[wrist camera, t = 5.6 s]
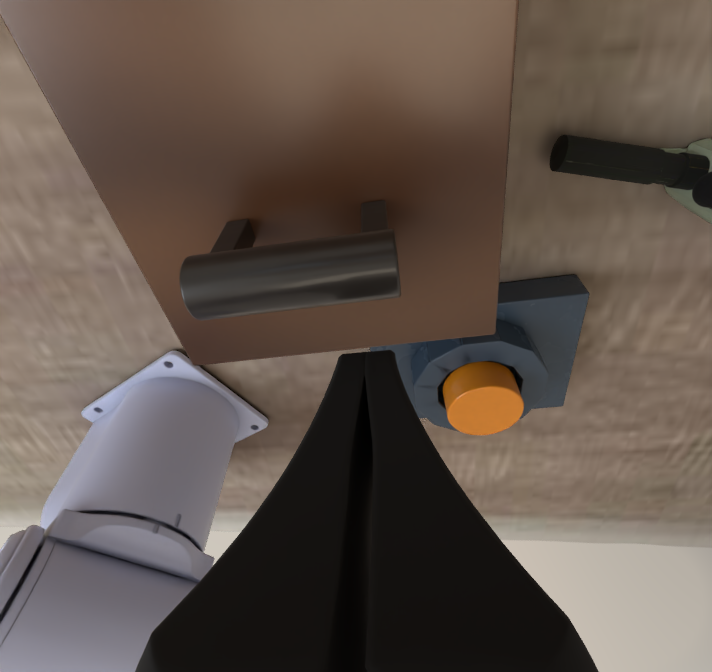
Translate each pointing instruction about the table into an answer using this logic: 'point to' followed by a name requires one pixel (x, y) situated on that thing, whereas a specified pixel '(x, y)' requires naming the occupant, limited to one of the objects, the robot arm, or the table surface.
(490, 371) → the button
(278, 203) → the lid
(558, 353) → the block
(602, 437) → the table surface
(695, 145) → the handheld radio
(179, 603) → the robot arm
